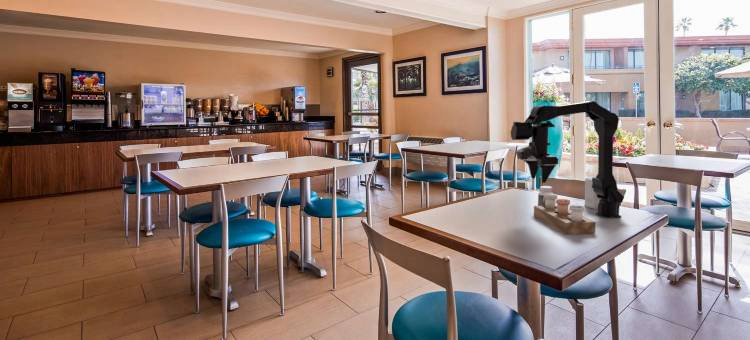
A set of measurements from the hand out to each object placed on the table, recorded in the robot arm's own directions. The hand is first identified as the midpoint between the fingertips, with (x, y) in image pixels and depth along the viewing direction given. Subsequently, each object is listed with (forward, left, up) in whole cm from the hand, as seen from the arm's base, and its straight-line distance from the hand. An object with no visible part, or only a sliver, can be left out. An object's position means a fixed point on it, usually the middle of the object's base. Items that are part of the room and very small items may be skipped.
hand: (538, 180), depth 158 cm
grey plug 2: (-5, +18, -12) cm, 23 cm away
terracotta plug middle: (-5, +9, -12) cm, 16 cm away
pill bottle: (-8, -11, -15) cm, 20 cm away
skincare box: (-30, -14, -15) cm, 37 cm away
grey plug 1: (-5, -1, -12) cm, 13 cm away
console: (-5, +9, -15) cm, 18 cm away
